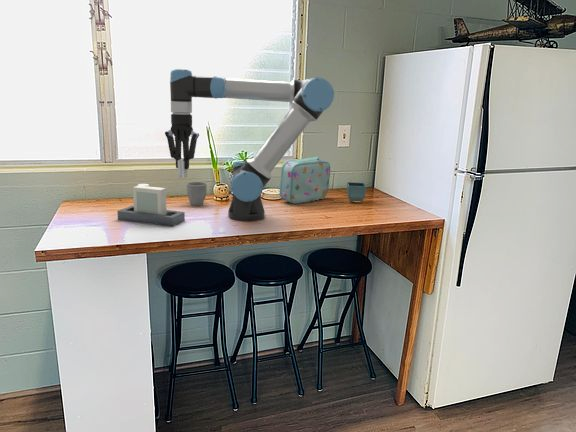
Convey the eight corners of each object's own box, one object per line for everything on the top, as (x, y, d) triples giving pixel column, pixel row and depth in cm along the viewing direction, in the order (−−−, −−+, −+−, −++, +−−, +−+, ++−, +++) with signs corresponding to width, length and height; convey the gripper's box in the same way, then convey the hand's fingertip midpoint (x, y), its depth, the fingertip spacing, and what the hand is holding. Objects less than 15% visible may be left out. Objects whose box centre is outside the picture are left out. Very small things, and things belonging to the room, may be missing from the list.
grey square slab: (166, 217, 186) (166, 188, 183) (161, 220, 182) (160, 190, 179) (140, 214, 189) (138, 185, 186) (134, 217, 185) (132, 187, 182)
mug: (209, 205, 212) (209, 184, 209) (190, 207, 207) (190, 186, 205) (200, 200, 222) (200, 179, 219) (182, 201, 218) (182, 181, 215)
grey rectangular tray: (184, 220, 187) (184, 212, 186) (172, 226, 178) (172, 217, 177) (132, 213, 193) (131, 205, 192) (117, 219, 184) (117, 210, 183)
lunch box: (315, 195, 242) (318, 154, 236) (330, 199, 234) (333, 156, 229) (276, 202, 224) (278, 157, 219) (291, 206, 217) (293, 160, 211)
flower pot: (365, 204, 227) (367, 186, 225) (347, 203, 227) (348, 185, 225) (363, 200, 235) (364, 182, 233) (345, 199, 235) (346, 182, 233)
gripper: (203, 114, 173) (204, 177, 179) (169, 112, 176) (171, 174, 183) (194, 114, 166) (194, 180, 172) (159, 112, 169) (160, 177, 176)
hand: (182, 177), depth 177 cm, fingers closed
